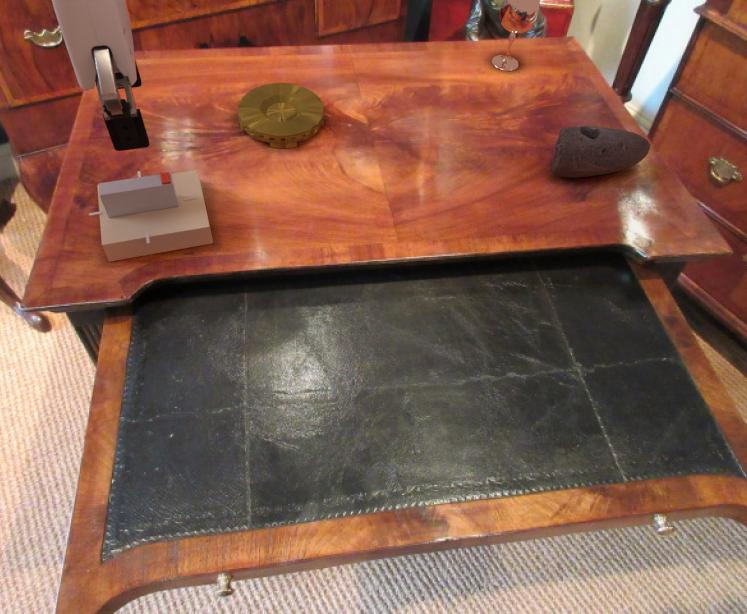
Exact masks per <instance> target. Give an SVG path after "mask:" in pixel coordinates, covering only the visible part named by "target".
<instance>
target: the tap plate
mask: <svg viewBox="0 0 747 614" xmlns="http://www.w3.org/2000/svg"><path fill="white" fill-rule="evenodd" d="M136 172H137V178H138V177H142V172H141V170H139V171H138V170H137V171H136ZM171 174H172V178H173V182H174V185H175V189H176V193H177V197H178V203H179V206H177V207H171V208H165V209H159V210H153V211H147V212H140V213H134V214H128V215H122V216H116V217H110V218H109V217H108V215H107V212H106V210H105V208H104V205H103V203H102V200H101V198H100V195H99V184H96V185H97V200H98V211H93V212H89V213H88V216H89V217H93V216H99V223H100V224H99V225H100V240H101V246H102V249H103V251H104V253H105V256H106V258H107V260H108V262H115V261H121V260H126V259H132V258H138V257H145V256H148V255H154V254H155V255H156V254H160V253H166V252H171V251H172V252H173V251H176V250H177V251H178V250H183V249H189V248H194V247H200V246H205V245H212V244H214V238H213V235H212V230H211V226H210V225H211V224H210V220H209V215H208V210H207V205H206V201H205V197H204V192H203V186H202V182H201V179H200V174H199V170H198V169H194V170H187V171H181V172H174V173H171ZM157 247H158V248H157ZM145 249H146V250H145ZM139 250H141V251H139ZM123 253H124V254H123ZM117 254H118V255H117ZM111 255H112V256H111Z"/></svg>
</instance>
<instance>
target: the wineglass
mask: <svg viewBox="0 0 747 614" xmlns="http://www.w3.org/2000/svg"><path fill="white" fill-rule="evenodd" d="M540 5H541V0H502V3H501V5H500V8H499V9H500V10H499V22H500V24H501V27H502V28H503V29H504V30H505V31H507V32H509V35H508V46H507V50H506V52H505V54H497V55H495V56H493V57H492V59H491V63H492V65H493V66H494V67H495V68H496V69H498V70H501V71H504V72H512V71H515V70H517V69H518V68H519V61H518V60H517V59H516V58H515V57H513V56H511V55H510V52H511V48H512V46H513V44H514V42H515V39H516V35H517V34H523V33H526V32H528V31H530V30H531V29H532V28H533V26H534V25H535V24H536V22H537V19H538V15H539V12H540Z"/></svg>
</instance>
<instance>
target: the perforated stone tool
mask: <svg viewBox="0 0 747 614" xmlns="http://www.w3.org/2000/svg"><path fill="white" fill-rule="evenodd" d="M554 150H555V151H554V155H553V156H552V159H551V172H552V175H553V176H554V177H561V178H573V179H574V178H575V179H577V178H586V177H596V176H602V175H607V174H613V173H618V172H622V171H624V170H627V169H630V168H631V167H634V166H635V165H637V164H639V163H640V162H641V161H643V160H644V159H645V158H646V157H647V156H648V155H649V152H650V150H651V143H650V142H649V140H647V138H645V137H644V136H642V135H640V134H638V133H636V132H632V131H629V130H626V129H619V128H611V127H602V126H590V125H582V126H570V127H561V128H560V131H559V133H558V137H557V139H556V142H555V144H554Z"/></svg>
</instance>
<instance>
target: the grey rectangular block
mask: <svg viewBox="0 0 747 614" xmlns="http://www.w3.org/2000/svg"><path fill="white" fill-rule="evenodd" d="M172 174H173V173H172V172H170V171H165V172H160V173H158V174H151V175H145V176H141V177H138V176H137V177H132V178H126V179H125V178H124V179H119V180H112V181H111V180H110V181H106V182H99V183H98V185H99V195H100V198H101V200H102V203H103V205H104V208H105V210H106V212H107V215H108V217H109V218H110V217H116V216H122V215H128V214H134V213H140V212H147V211H153V210H159V209H165V208H171V207H177V206H179V203H178V197H177V193H176V189H175V185H174V182H173V178H172Z"/></svg>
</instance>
